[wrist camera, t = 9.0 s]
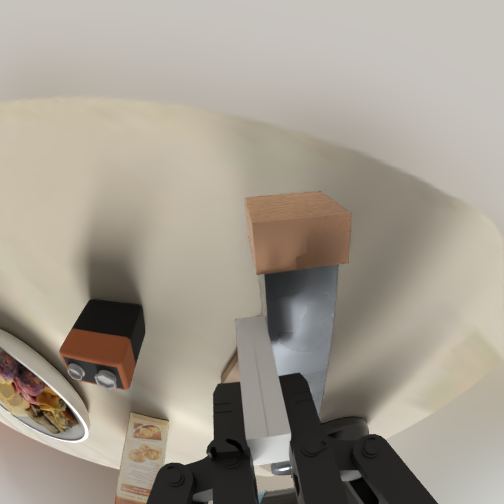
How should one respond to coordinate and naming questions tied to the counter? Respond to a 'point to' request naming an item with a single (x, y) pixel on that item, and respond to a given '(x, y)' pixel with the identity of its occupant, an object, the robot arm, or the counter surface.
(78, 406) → the bowl
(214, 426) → the robot arm
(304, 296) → the swing arm
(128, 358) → the battery
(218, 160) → the counter surface
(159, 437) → the coffeecake box
